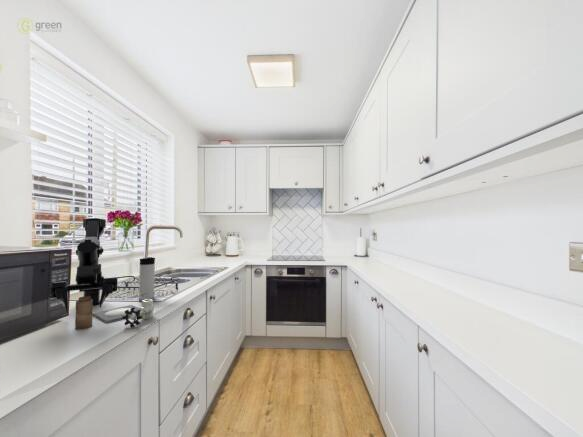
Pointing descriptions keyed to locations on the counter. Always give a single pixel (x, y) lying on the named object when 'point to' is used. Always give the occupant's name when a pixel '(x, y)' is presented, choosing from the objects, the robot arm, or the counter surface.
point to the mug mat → (114, 314)
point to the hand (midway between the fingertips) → (83, 308)
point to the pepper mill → (84, 313)
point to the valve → (140, 313)
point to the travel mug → (146, 278)
